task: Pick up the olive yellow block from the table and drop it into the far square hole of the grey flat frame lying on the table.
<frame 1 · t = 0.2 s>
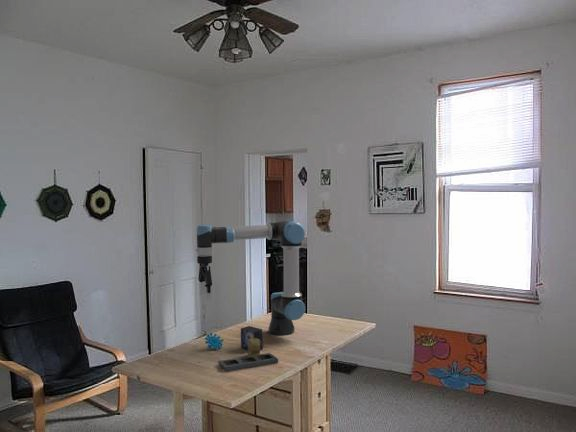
hand: (205, 296, 251), 28 cm above the table, fingers open, 13 cm apart
gear: (214, 348, 255), on the table
grey flat frame: (248, 364, 230), on the table
olive yellow block: (253, 355, 243), on the table
small box: (251, 348, 254), on the table
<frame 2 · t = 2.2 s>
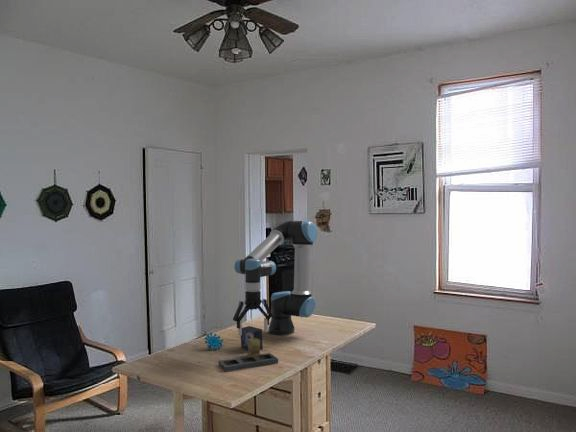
hand: (253, 333, 242), 11 cm above the table, fingers open, 13 cm apart
nothing on the table moved.
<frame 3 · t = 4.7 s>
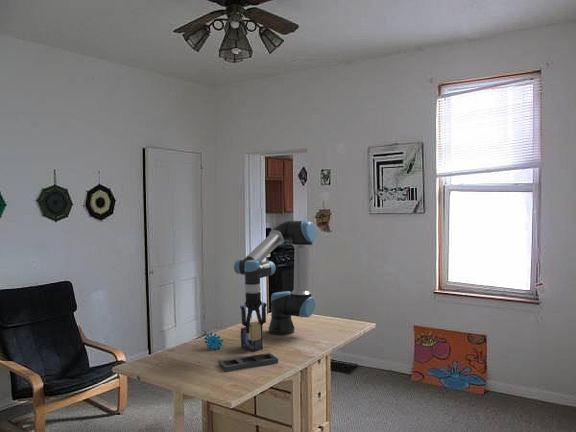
hand: (254, 338, 243), 8 cm above the table, fingers closed on olive yellow block, 4 cm apart
olive yellow block: (254, 339, 243), point 8 cm above the table, touching gripper
everything else where it was.
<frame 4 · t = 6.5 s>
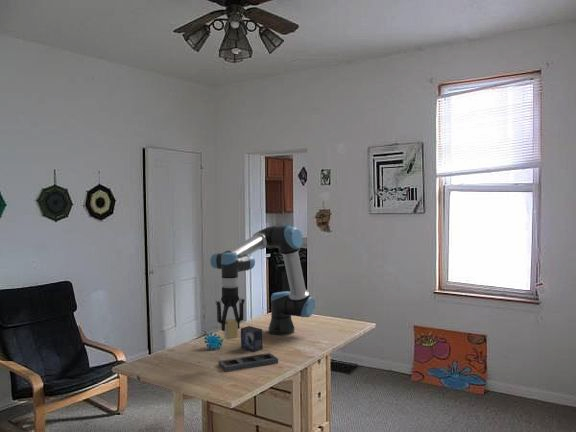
hand: (230, 336, 225), 14 cm above the table, fingers closed on olive yellow block, 4 cm apart
olive yellow block: (230, 337, 225), point 14 cm above the table, touching gripper
everything else where it was.
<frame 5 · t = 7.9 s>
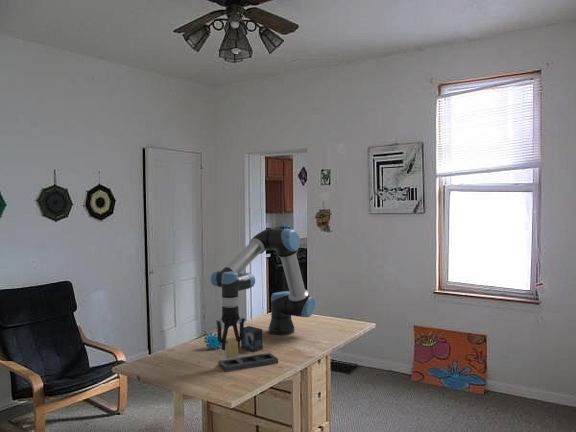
hand: (230, 355, 226), 5 cm above the table, fingers closed on olive yellow block, 4 cm apart
olive yellow block: (230, 356, 226), point 5 cm above the table, touching gripper
everything else where it was.
when the fingers open (3 cm above the table, at t = 8.5 s): olive yellow block drops 3 cm, resting in grey flat frame.
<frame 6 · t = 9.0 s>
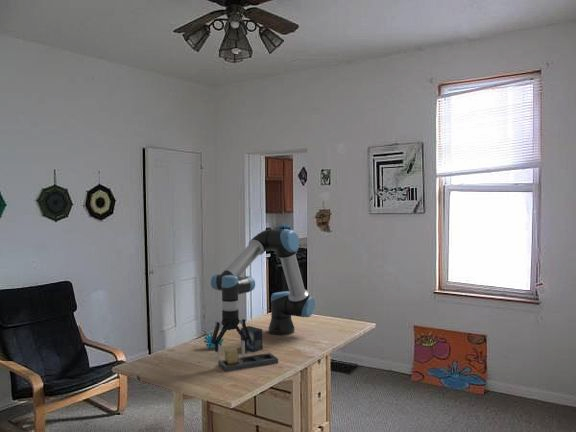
hand: (231, 356, 226), 5 cm above the table, fingers open, 11 cm apart
olive yellow block: (231, 366, 226), resting in grey flat frame
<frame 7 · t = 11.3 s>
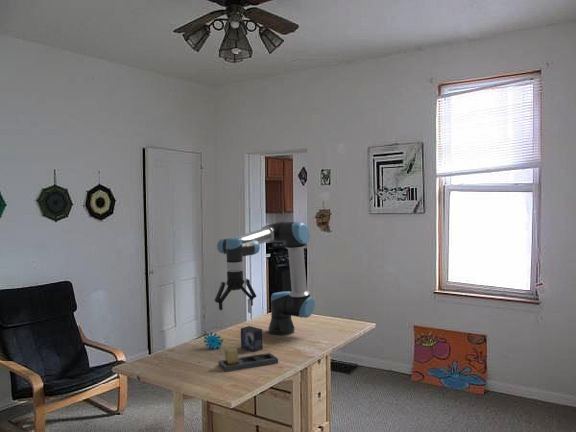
hand: (236, 314, 234), 22 cm above the table, fingers open, 13 cm apart
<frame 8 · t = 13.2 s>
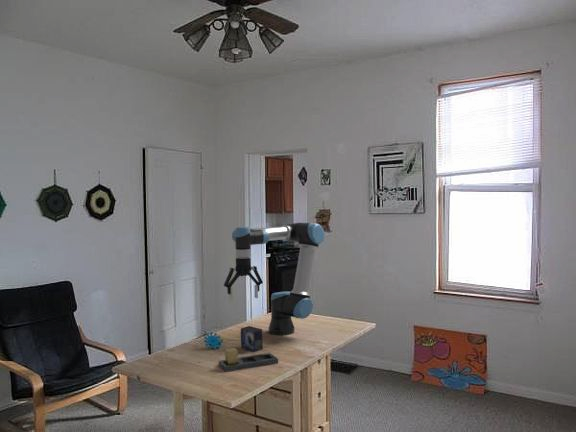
hand: (243, 299, 248), 27 cm above the table, fingers open, 13 cm apart
at the end: olive yellow block 0.1 cm from the target spot on the grey flat frame, point 0.0 cm above the grey flat frame's base; the gripper is holding nothing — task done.
